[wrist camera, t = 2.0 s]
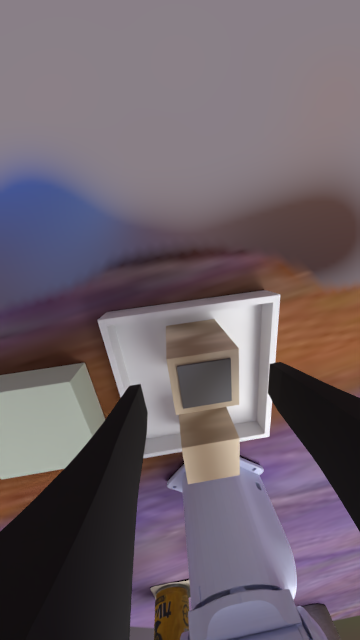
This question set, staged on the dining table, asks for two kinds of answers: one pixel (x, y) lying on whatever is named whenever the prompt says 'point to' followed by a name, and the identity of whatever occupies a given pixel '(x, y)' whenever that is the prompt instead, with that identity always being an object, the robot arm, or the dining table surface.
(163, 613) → the condiment
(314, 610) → the pillar candle
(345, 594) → the dining table surface
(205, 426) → the plain block
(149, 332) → the parts tray
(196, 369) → the labelled block
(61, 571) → the robot arm
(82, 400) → the sage stand
